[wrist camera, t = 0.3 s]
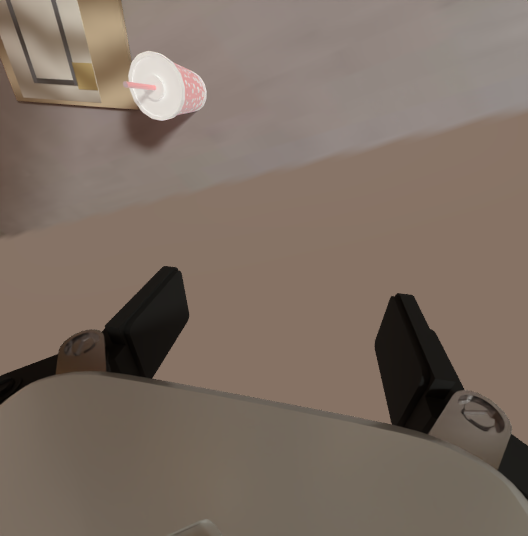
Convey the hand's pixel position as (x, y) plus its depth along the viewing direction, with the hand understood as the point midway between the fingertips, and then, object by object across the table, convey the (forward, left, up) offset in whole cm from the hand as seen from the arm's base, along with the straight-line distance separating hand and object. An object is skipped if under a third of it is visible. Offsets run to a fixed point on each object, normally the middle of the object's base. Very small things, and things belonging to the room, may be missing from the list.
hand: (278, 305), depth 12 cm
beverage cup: (-8, -17, -31) cm, 36 cm away
